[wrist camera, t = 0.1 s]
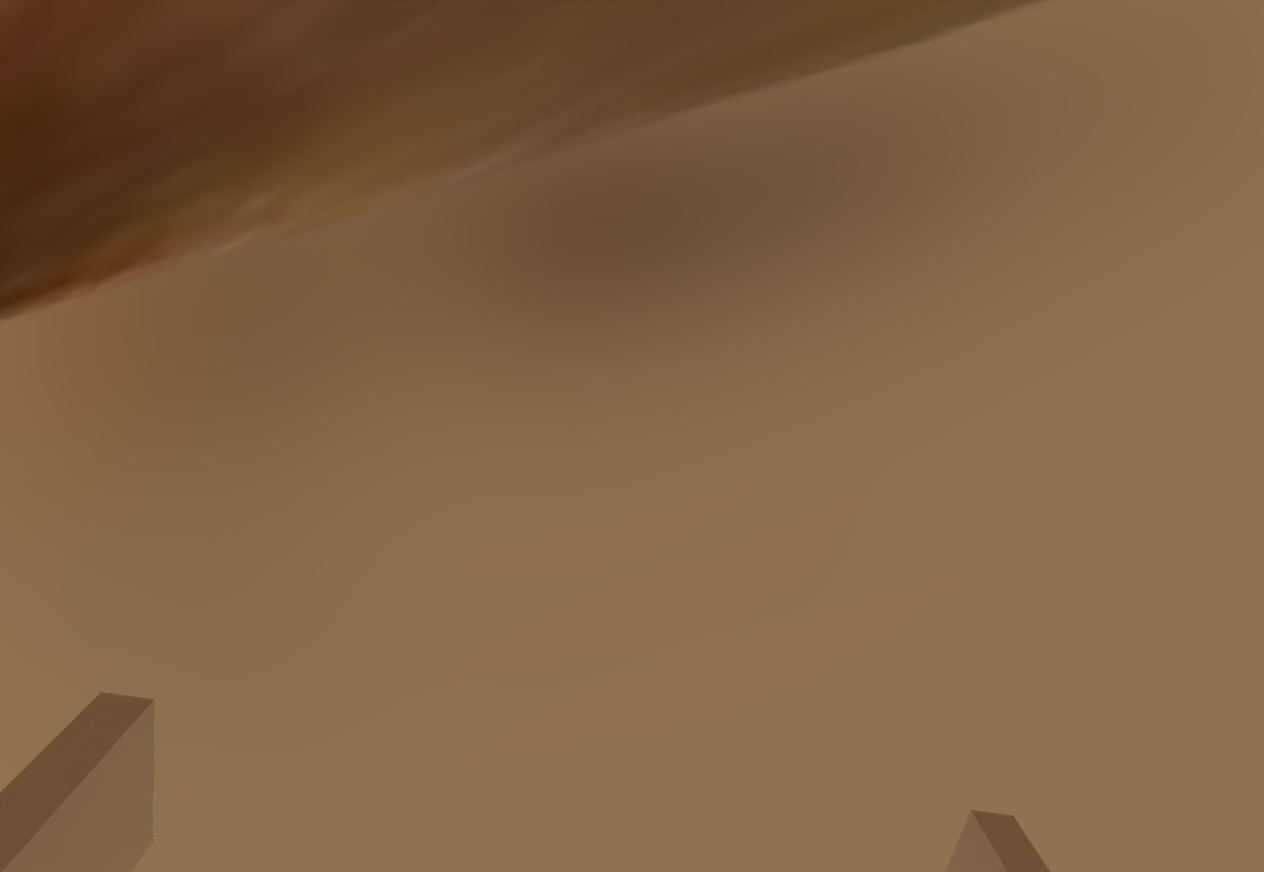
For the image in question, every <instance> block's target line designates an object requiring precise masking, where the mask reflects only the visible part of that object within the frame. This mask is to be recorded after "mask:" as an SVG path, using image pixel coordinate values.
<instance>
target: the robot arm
mask: <svg viewBox="0 0 1264 872" xmlns="http://www.w3.org/2000/svg"><path fill="white" fill-rule="evenodd" d="M153 782H154V699H147V698H139V697H132V696H124V695H118V694H109V693H102V692H101V693H100V694H99V695H98V696H97V697H96V698H95V699H94V700H93V701H92V702H91V703H90V704H89V705H88V706H87V707H86V708H85V709H84V710H83V711H82V712H81V713H80V714H79V715H78V716H77V717H76V718H75V719H74V720H73V721H72V722H71V723H70V724H69V725H68V726H67V727H66V728H65V729H64V730H63V731H62V732H61V733H60V734H59V735H58V736H57V737H56V738H55V739H54V740H53V741H52V742H51V743H50V744H49V745H48V746H47V747H46V748H45V749H44V750H43V751H42V752H41V753H40V754H39V755H38V756H37V757H36V758H35V759H33V760H32V762H30V764H28V765H27V767H26V768H25V769H23V770H22V772H20V774H18V775H17V777H15V778H14V779H13V780H12V781H11V782H10V783H9V784H8V785H7V786H6V787H5V788H4V789H3V790H2V791H1V792H0V872H132V871H133V870H134V868H135V867H136V865H137V864H138V862H139V861H140V860H141V858H142V857H143V855H144V854H145V852H146V851H147V850H148V848H149V847H150V845H151V844H152V842H153V785H154V783H153ZM945 872H1050V871H1049V869H1048V867H1047V866H1046V864H1045V863H1044V862H1043V860H1042V858H1041V857H1040V855H1039V854H1038V852H1037V851H1036V850H1035V848H1034V846H1033V845H1032V843H1031V842H1030V841H1029V839H1028V837H1027V836H1026V834H1025V833H1024V831H1023V830H1022V828H1021V827H1020V825H1019V824H1018V822H1017V821H1016V819H1015V818H1014V816H1011V815H1003V814H996V813H988V812H981V811H973V810H971V811H970V813H969V815H968V818H967V820H966V823H965V825H964V827H963V830H962V832H961V835H960V837H959V839H958V842H957V844H956V847H955V849H954V851H953V854H952V856H951V859H950V861H949V863H948V866H947V868H946V871H945Z"/></svg>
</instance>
